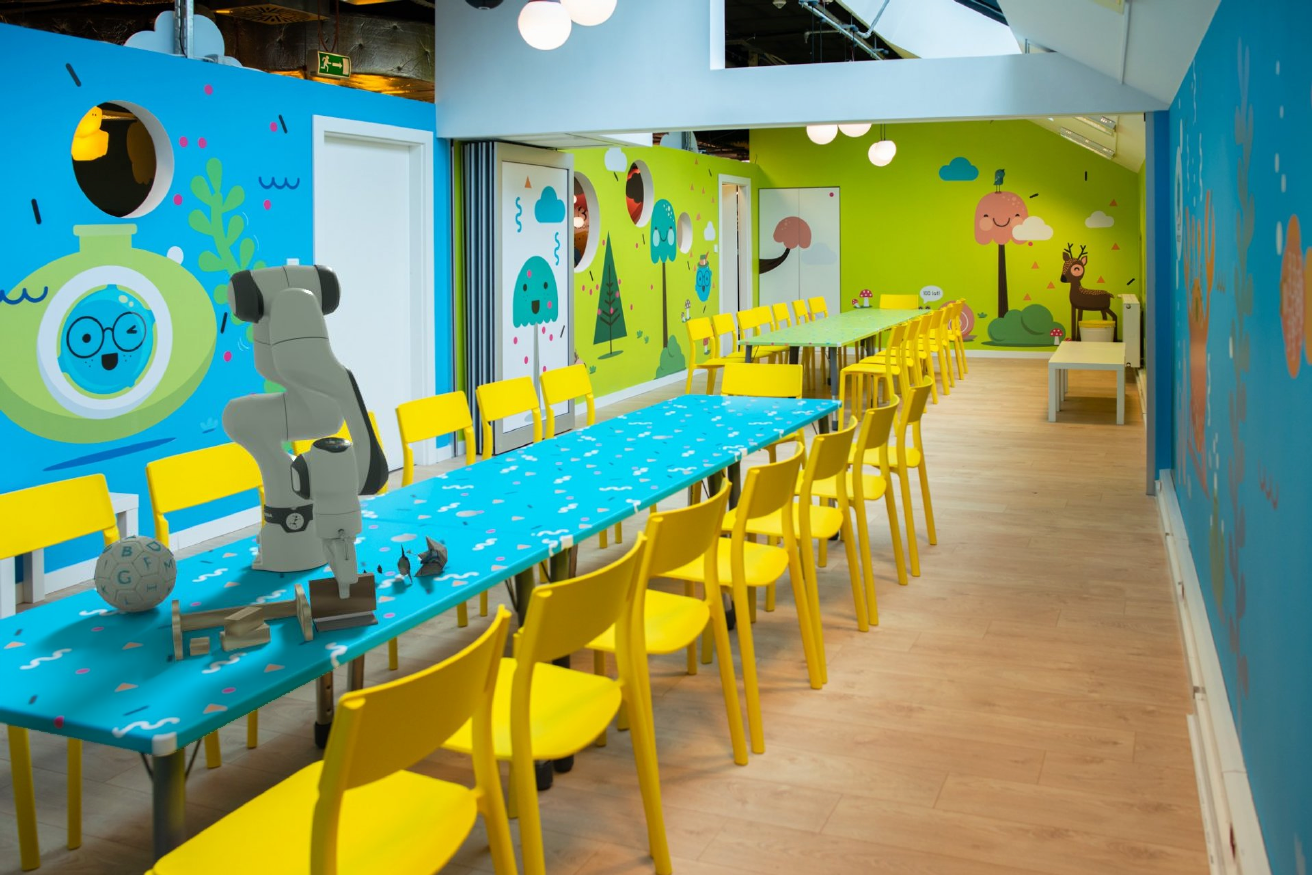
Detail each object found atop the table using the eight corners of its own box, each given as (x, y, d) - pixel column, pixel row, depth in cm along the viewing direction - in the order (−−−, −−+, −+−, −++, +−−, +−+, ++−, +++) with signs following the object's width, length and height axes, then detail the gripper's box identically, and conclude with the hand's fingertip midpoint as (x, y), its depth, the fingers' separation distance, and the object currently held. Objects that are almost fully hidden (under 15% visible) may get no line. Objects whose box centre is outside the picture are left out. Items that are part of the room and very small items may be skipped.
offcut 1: (192, 649, 206) (191, 638, 206) (209, 647, 207) (208, 636, 207) (190, 656, 203) (189, 646, 202) (208, 654, 204) (207, 643, 203)
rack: (174, 630, 216) (171, 599, 215) (302, 612, 225) (300, 583, 223) (175, 660, 200) (172, 627, 199) (313, 639, 209) (310, 608, 208)
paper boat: (443, 572, 246) (401, 563, 245) (440, 591, 250) (398, 582, 249) (454, 531, 255) (413, 522, 254) (451, 550, 259) (410, 541, 258)
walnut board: (311, 615, 218) (308, 580, 217) (374, 606, 223) (372, 571, 222) (312, 619, 216) (309, 583, 215) (376, 609, 221) (374, 574, 220)
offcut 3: (221, 647, 207) (219, 632, 206) (266, 638, 211) (264, 622, 211) (226, 652, 204) (224, 636, 204) (271, 642, 209) (269, 626, 208)
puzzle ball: (188, 595, 237) (181, 525, 235) (169, 619, 222) (162, 544, 220) (111, 600, 235) (103, 529, 232) (86, 624, 220) (78, 549, 218)
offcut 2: (225, 634, 205) (223, 618, 204) (249, 622, 211) (248, 606, 211) (239, 636, 204) (237, 619, 203) (263, 623, 210) (262, 607, 210)
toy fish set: (455, 569, 243) (443, 529, 244) (339, 602, 230) (327, 560, 231) (440, 577, 252) (429, 539, 253) (328, 609, 239) (317, 569, 240)
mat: (312, 616, 222) (311, 614, 222) (369, 608, 226) (369, 606, 226) (318, 632, 213) (318, 630, 213) (378, 623, 217) (378, 621, 217)
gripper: (363, 534, 208) (368, 607, 211) (347, 511, 227) (352, 578, 229) (327, 539, 206) (333, 612, 208) (314, 514, 224) (319, 582, 227)
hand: (342, 594), depth 219 cm, fingers closed on walnut board, 2 cm apart
